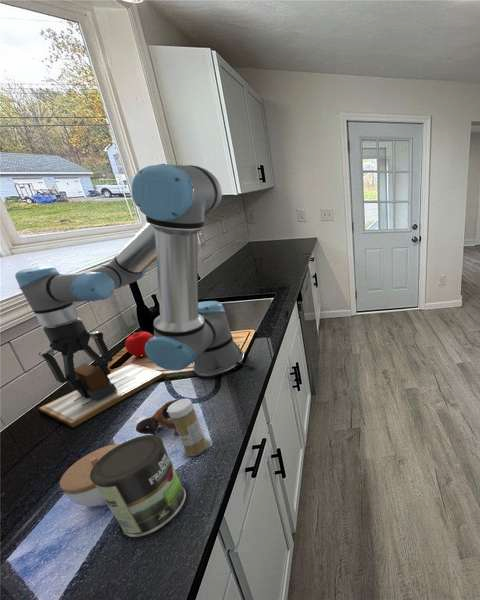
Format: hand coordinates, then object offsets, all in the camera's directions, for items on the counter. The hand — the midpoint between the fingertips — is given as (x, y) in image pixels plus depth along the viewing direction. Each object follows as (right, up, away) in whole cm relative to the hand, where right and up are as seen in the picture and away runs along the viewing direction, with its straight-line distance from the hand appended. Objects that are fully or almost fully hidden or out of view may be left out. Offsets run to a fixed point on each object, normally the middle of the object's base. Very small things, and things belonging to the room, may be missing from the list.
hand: (97, 390), depth 95 cm
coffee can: (+45, -14, -34) cm, 58 cm away
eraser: (0, 0, 0) cm, 0 cm away
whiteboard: (+1, -1, +2) cm, 3 cm away
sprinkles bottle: (+44, -8, -21) cm, 49 cm away
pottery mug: (+33, -6, -14) cm, 36 cm away
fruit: (-4, +7, +24) cm, 25 cm away
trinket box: (+32, -13, -30) cm, 46 cm away
